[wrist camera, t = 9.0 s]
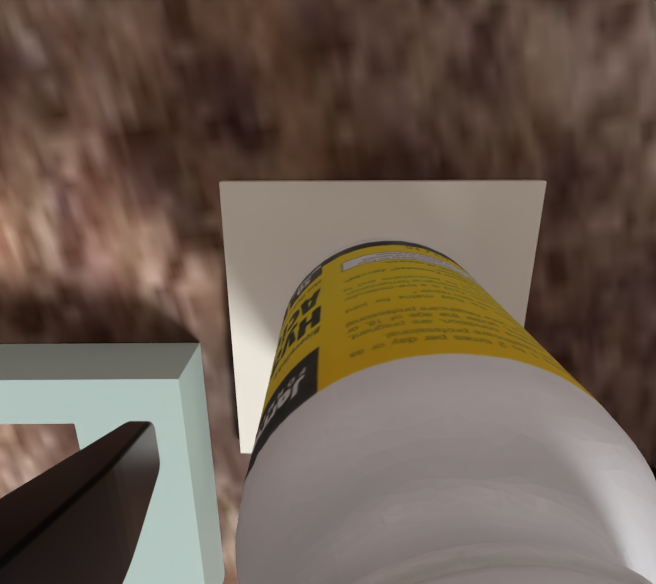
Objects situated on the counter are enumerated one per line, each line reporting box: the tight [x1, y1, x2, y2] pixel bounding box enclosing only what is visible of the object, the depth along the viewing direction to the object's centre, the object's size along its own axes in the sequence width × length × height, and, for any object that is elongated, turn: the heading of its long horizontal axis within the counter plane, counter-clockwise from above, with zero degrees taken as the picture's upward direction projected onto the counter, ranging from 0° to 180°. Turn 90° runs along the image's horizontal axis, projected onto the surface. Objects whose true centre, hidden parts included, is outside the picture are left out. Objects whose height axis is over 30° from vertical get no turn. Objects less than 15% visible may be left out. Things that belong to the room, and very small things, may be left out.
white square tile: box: [219, 180, 547, 453], centre depth 12 cm, size 8×8×1 cm
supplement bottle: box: [235, 238, 656, 584], centre depth 8 cm, size 5×5×10 cm
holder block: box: [0, 343, 225, 584], centre depth 13 cm, size 12×9×2 cm
